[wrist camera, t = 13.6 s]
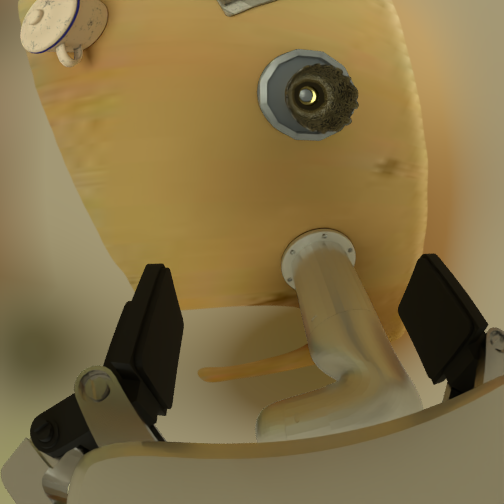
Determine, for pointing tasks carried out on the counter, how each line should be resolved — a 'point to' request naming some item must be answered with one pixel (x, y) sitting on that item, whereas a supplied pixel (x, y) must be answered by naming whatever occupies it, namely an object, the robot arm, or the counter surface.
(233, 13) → the packaged product
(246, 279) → the counter surface
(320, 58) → the blue-grey plate
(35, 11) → the teacup with lid
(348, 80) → the dark rounded textured piece
